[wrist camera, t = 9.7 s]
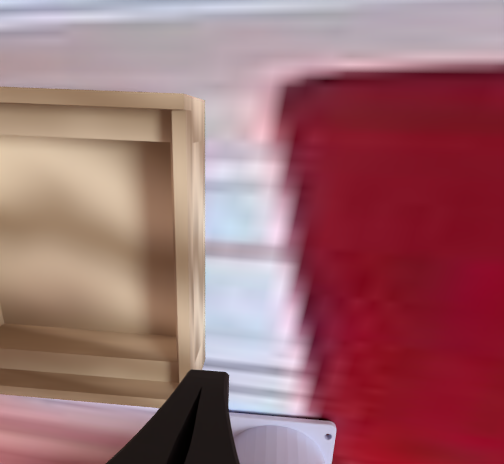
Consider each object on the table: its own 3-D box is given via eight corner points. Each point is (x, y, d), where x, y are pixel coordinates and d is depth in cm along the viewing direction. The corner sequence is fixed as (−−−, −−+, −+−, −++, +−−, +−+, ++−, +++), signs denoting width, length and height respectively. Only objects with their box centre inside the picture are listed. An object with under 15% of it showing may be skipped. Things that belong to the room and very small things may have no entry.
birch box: (205, 358, 23) (189, 410, 19) (2, 342, 24) (-56, 389, 19) (204, 100, 18) (183, 93, 14) (-51, 90, 19) (-143, 81, 15)
